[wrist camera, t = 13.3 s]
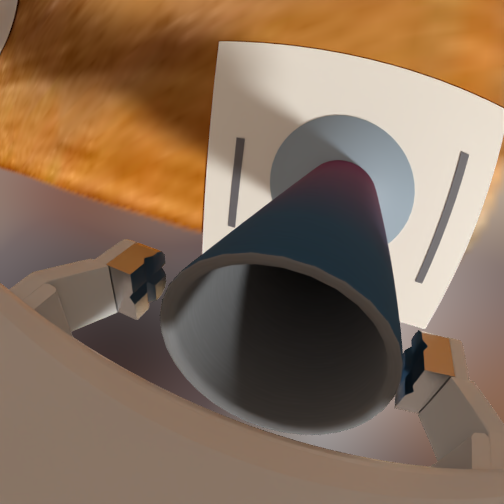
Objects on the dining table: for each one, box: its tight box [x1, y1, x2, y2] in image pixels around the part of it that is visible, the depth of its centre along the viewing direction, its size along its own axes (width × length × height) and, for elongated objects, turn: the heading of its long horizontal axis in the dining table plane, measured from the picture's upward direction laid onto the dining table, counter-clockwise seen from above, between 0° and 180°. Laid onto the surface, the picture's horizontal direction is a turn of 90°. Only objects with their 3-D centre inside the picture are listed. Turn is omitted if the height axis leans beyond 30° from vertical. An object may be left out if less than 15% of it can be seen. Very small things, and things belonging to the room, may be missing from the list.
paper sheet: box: [202, 41, 504, 329], centre depth 20 cm, size 20×18×1 cm
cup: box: [160, 160, 403, 435], centre depth 14 cm, size 7×7×15 cm
